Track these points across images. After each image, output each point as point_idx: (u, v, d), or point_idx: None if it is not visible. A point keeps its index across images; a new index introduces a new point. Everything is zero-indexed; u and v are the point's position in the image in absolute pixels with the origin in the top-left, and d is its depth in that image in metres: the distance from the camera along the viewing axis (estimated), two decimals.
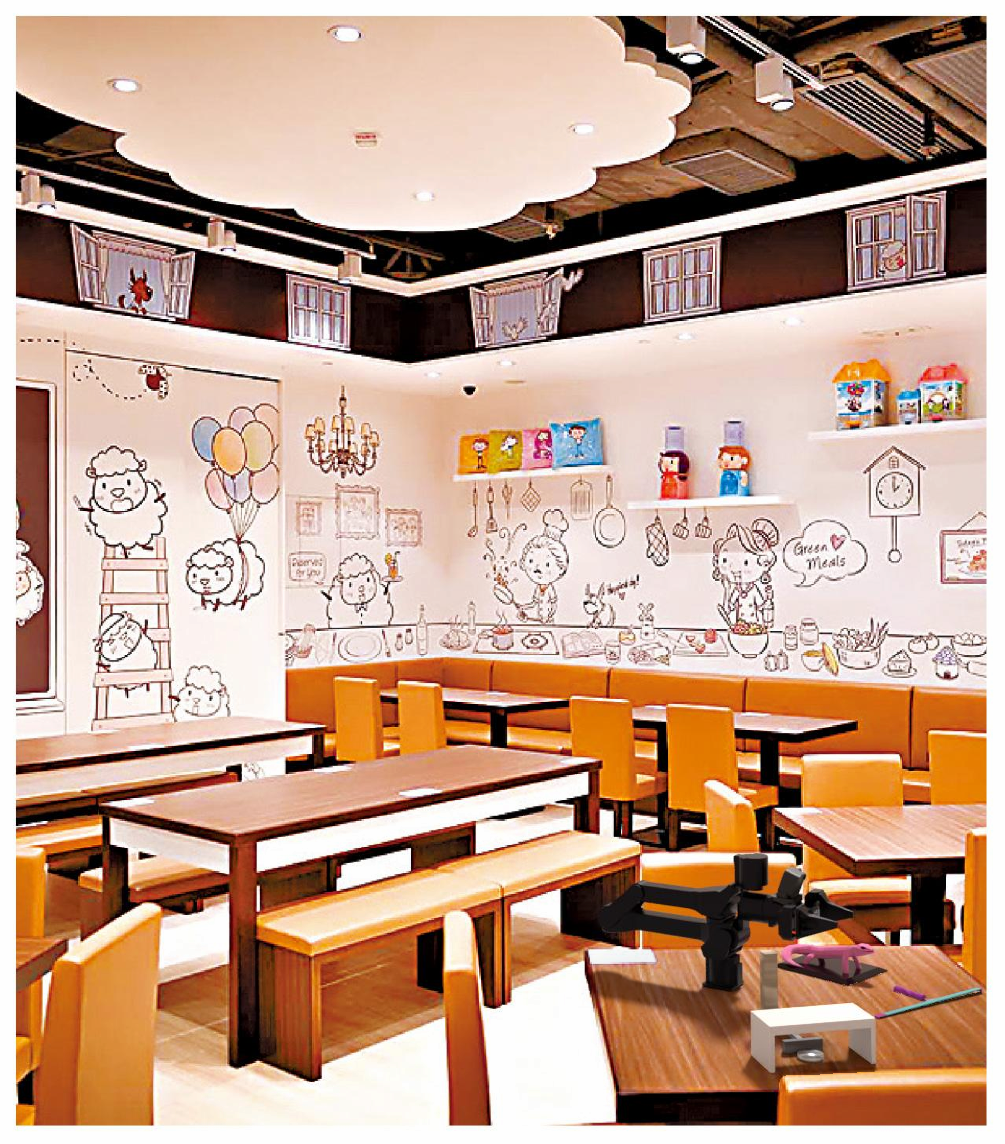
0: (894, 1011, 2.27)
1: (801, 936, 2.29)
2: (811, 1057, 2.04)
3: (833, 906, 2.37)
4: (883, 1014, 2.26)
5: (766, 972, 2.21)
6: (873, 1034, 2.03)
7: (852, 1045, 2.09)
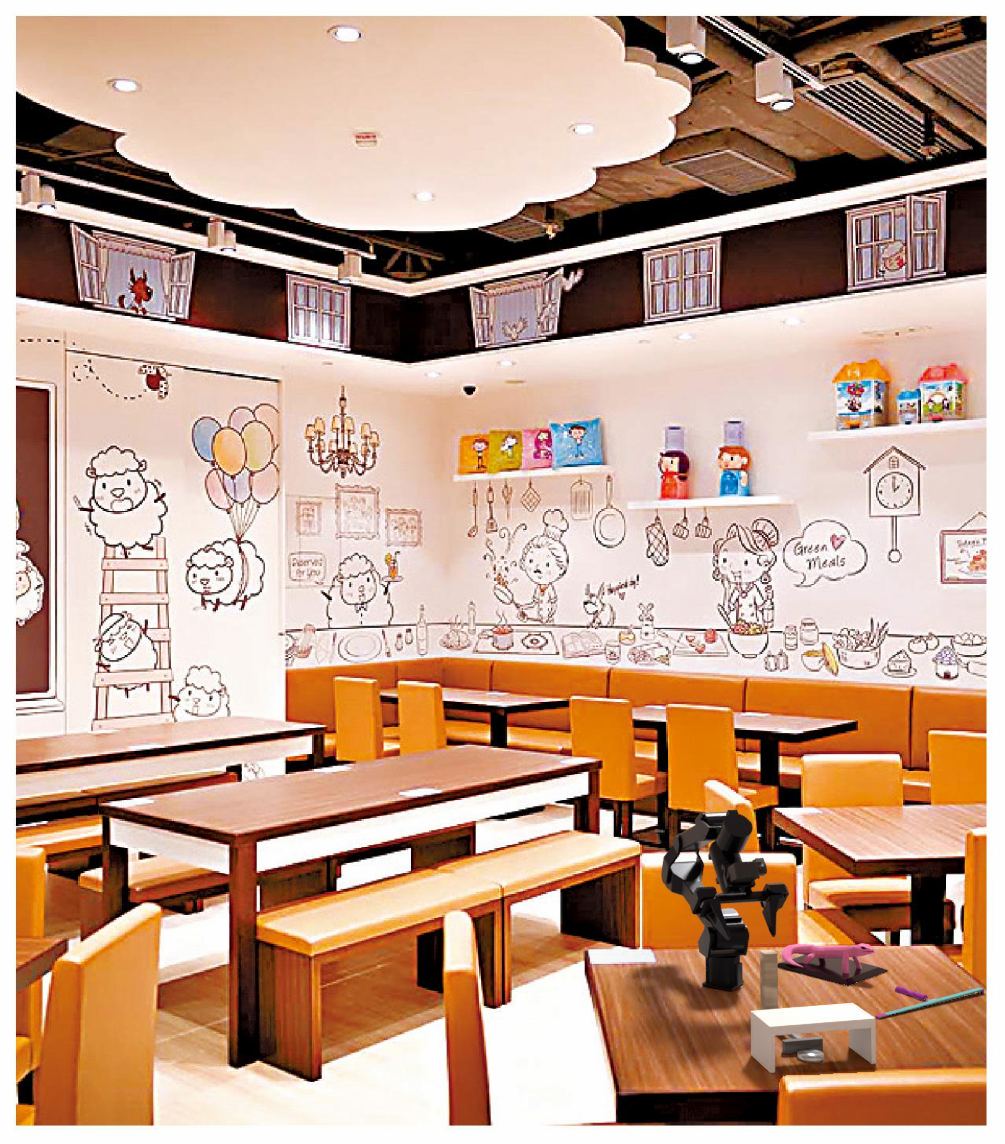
0: (895, 1011, 2.27)
1: (705, 917, 2.35)
2: (811, 1057, 2.04)
3: (770, 914, 2.34)
4: (884, 1014, 2.26)
5: (766, 972, 2.21)
6: (873, 1034, 2.03)
7: (852, 1045, 2.09)
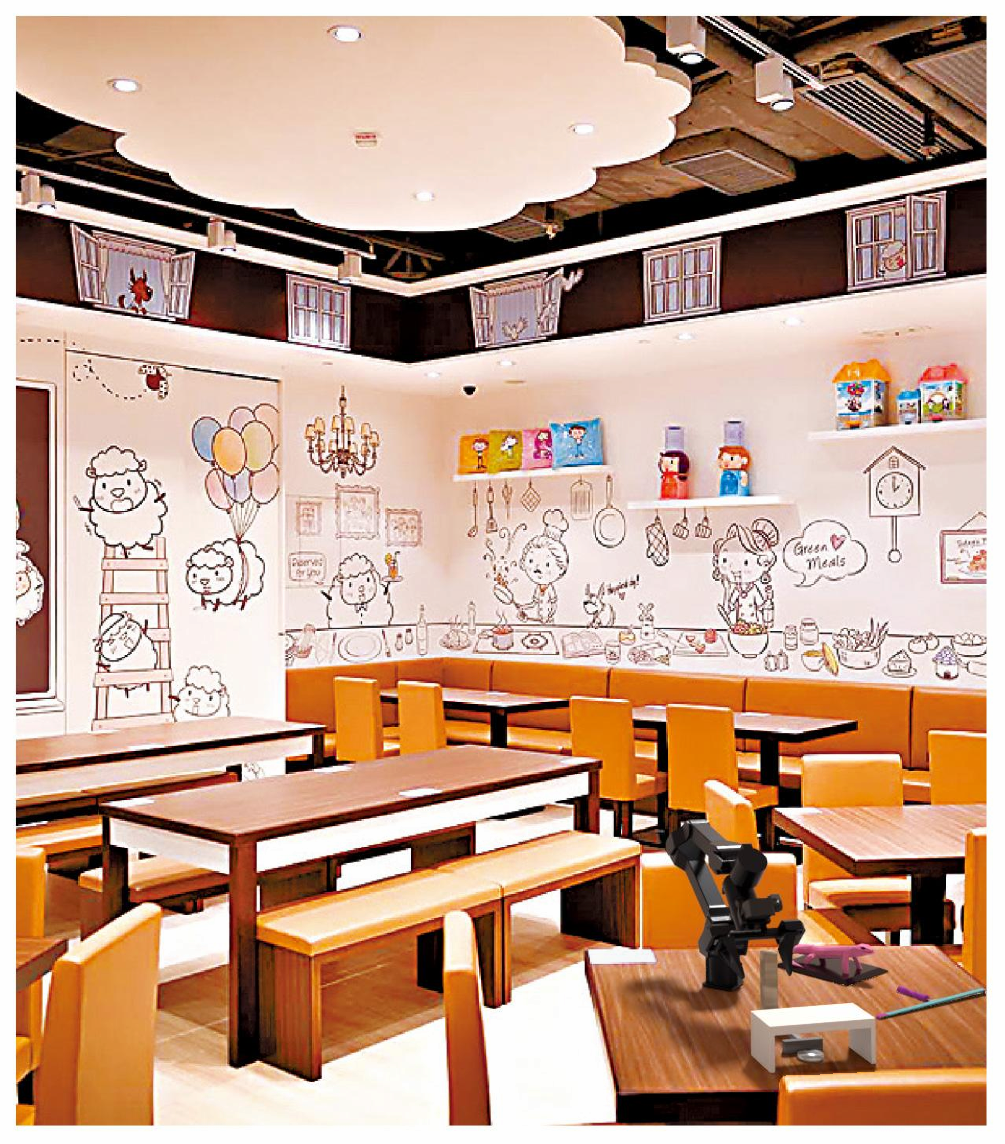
0: (896, 1011, 2.27)
1: (719, 955, 2.28)
2: (811, 1057, 2.04)
3: (786, 952, 2.26)
4: (885, 1014, 2.25)
5: (766, 972, 2.21)
6: (873, 1034, 2.03)
7: (852, 1045, 2.09)
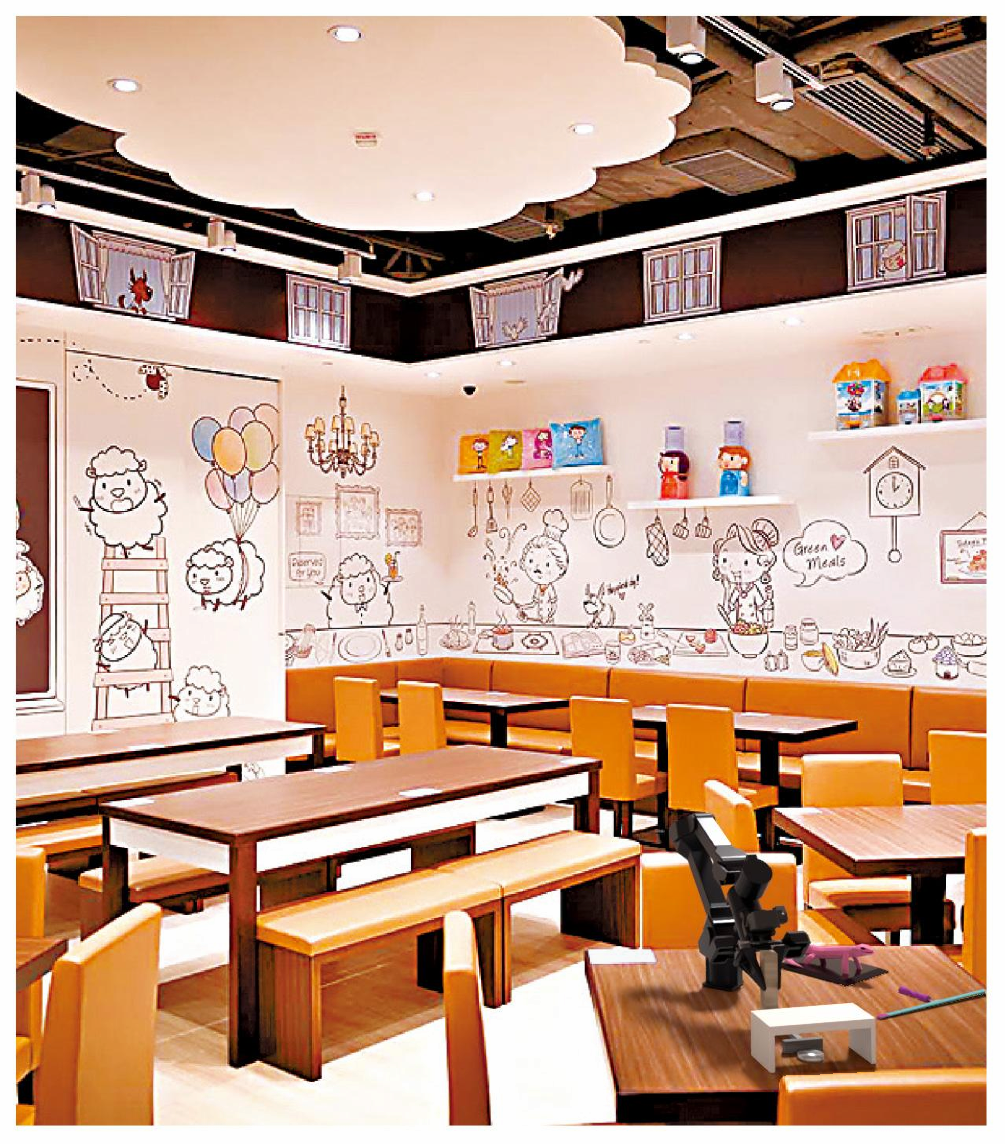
0: (897, 1012, 2.27)
1: (739, 966, 2.27)
2: (811, 1057, 2.04)
3: None
4: (885, 1014, 2.25)
5: (766, 972, 2.21)
6: (873, 1034, 2.03)
7: (852, 1045, 2.09)
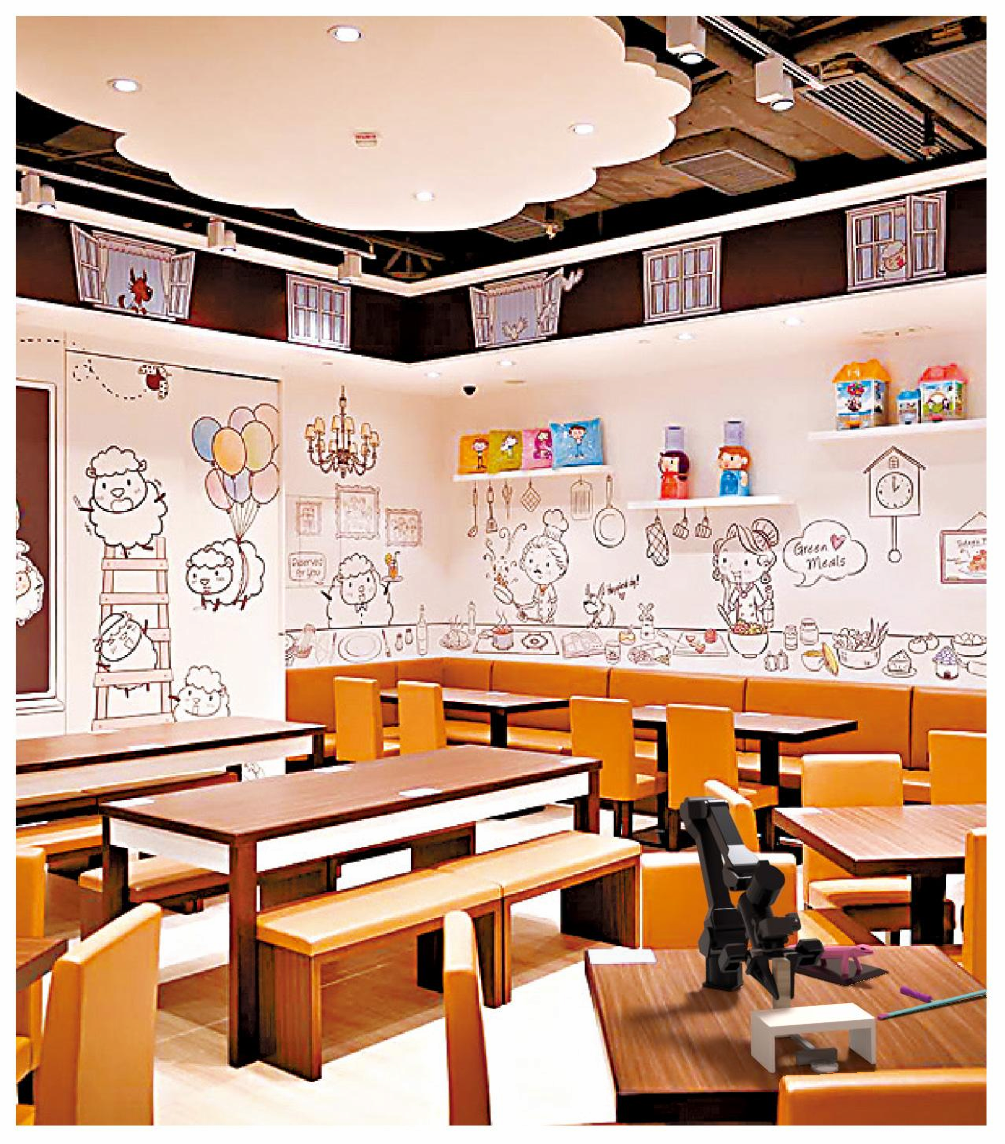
0: (897, 1012, 2.26)
1: (751, 974, 2.21)
2: (826, 1068, 1.99)
3: None
4: (886, 1015, 2.25)
5: (779, 980, 2.16)
6: (873, 1034, 2.03)
7: (852, 1045, 2.09)
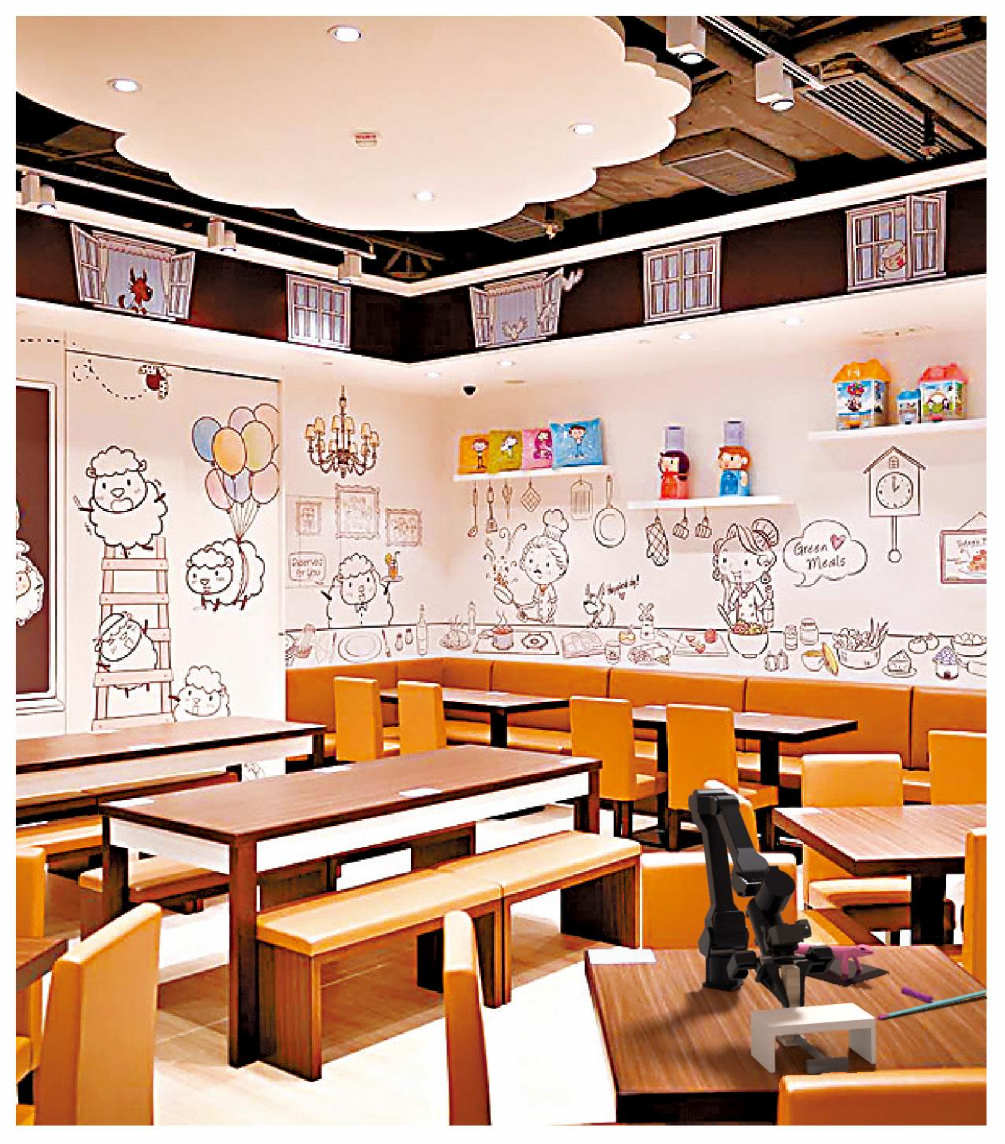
0: (898, 1012, 2.26)
1: (761, 982, 2.17)
2: None
3: None
4: (886, 1015, 2.25)
5: (788, 988, 2.12)
6: (873, 1034, 2.03)
7: (852, 1045, 2.09)
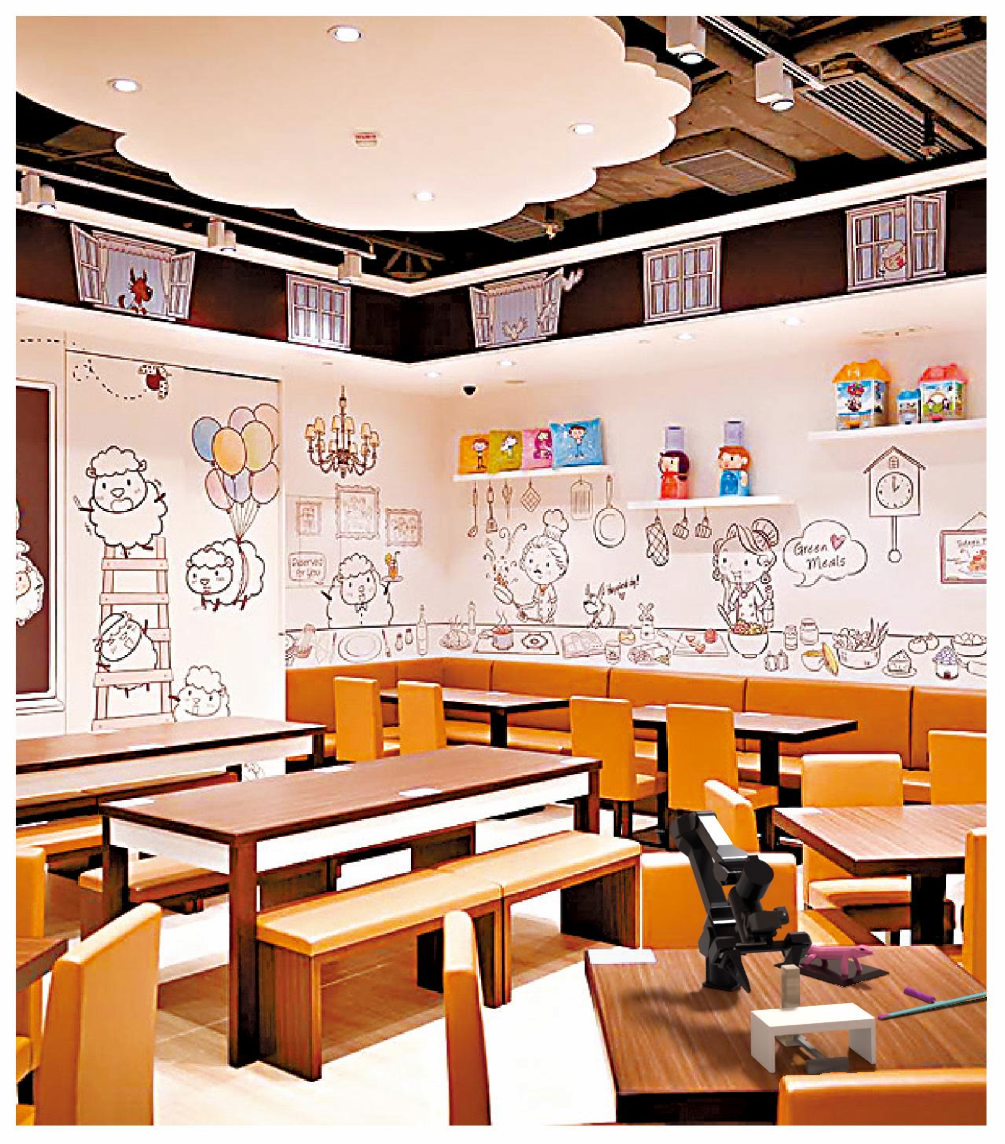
0: (899, 1012, 2.26)
1: (724, 968, 2.25)
2: None
3: None
4: (887, 1015, 2.25)
5: (788, 988, 2.12)
6: (873, 1034, 2.03)
7: (852, 1045, 2.09)
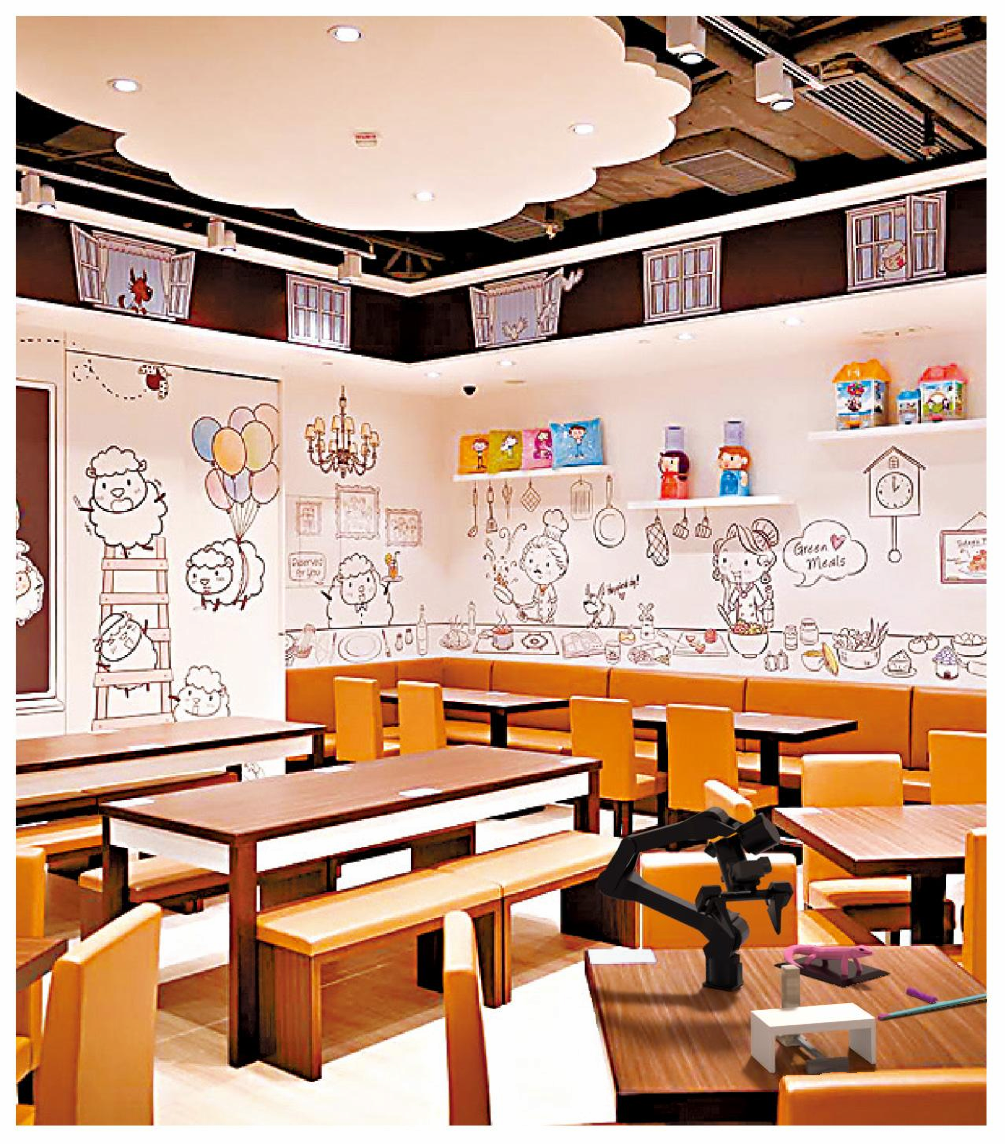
0: (899, 1012, 2.26)
1: (710, 915, 2.36)
2: None
3: (775, 912, 2.35)
4: (887, 1014, 2.25)
5: (788, 988, 2.12)
6: (873, 1034, 2.03)
7: (852, 1045, 2.09)
